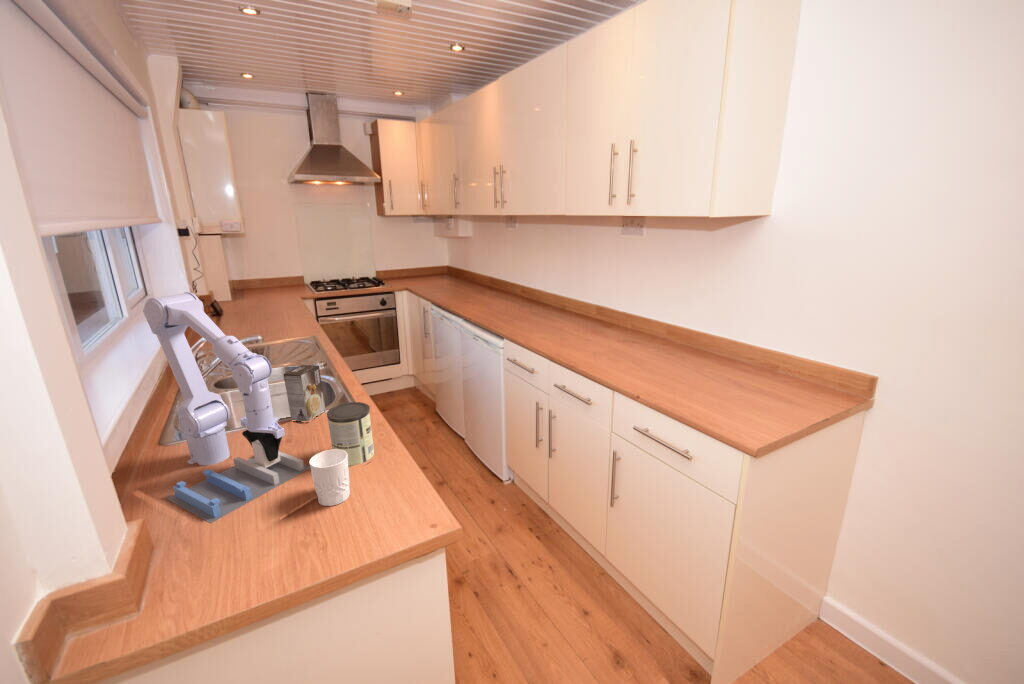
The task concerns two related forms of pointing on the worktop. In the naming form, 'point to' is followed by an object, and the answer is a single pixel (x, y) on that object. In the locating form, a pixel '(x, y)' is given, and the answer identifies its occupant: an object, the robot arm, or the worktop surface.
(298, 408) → the coffee box
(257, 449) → the cream plug
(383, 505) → the worktop surface
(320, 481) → the white cup
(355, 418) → the coffee can
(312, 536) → the worktop surface
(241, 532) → the worktop surface
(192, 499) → the grey railed board
